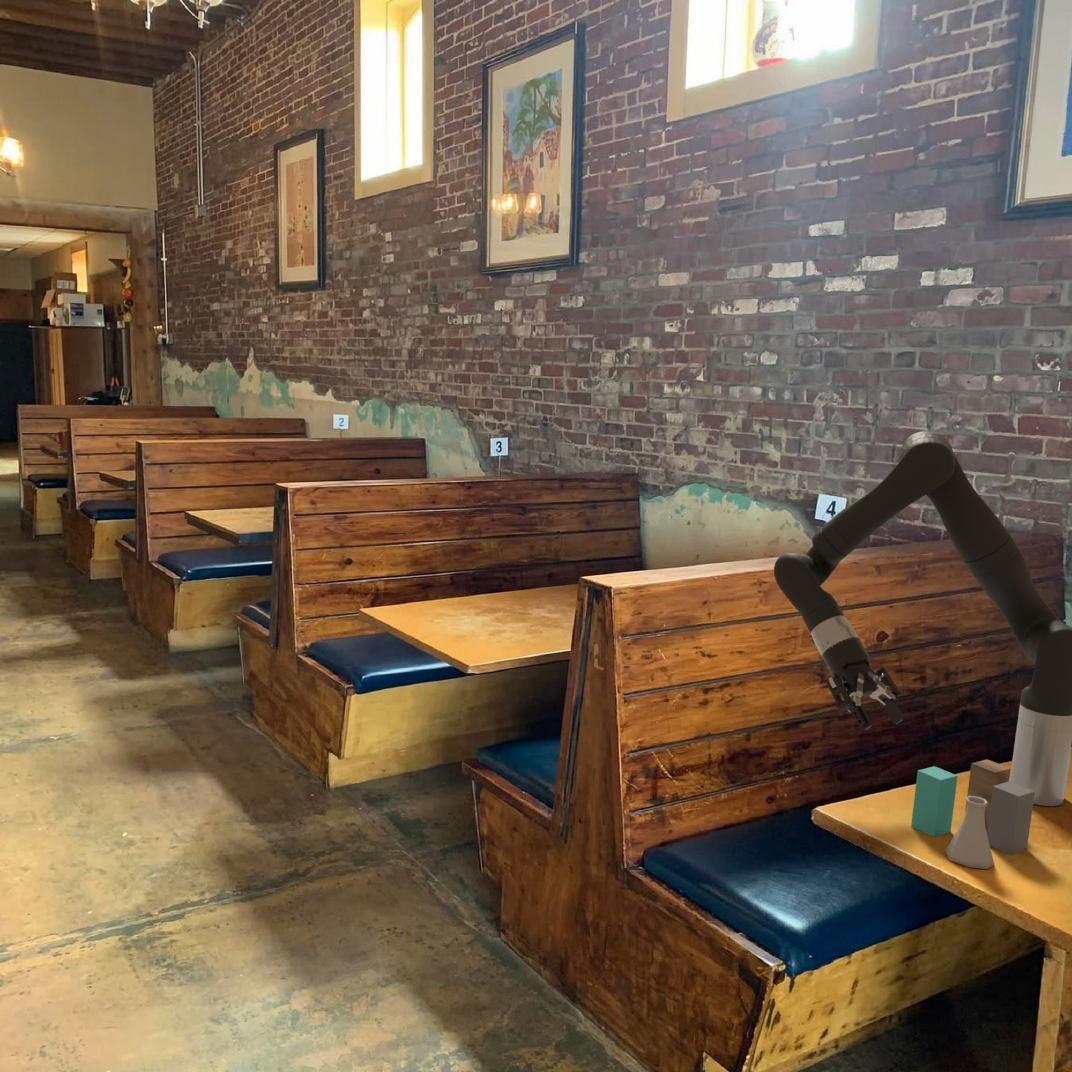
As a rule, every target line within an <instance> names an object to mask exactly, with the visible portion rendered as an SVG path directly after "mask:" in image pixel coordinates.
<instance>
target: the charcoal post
mask: <svg viewBox="0 0 1072 1072" xmlns="http://www.w3.org/2000/svg"><path fill="white" fill-rule="evenodd" d="M1034 794H1035V791H1032V790H1030V789H1027V788H1024V787H1022V786H1019V785H1017V784H1014V783H1012V782H1010V781H1009V782H1006V783H1002V784H999V785H995V786H993V790H992V798H991V805H990V813H989V820H988V828H987V827H986V828H987V829H986V832H987V837H988V841H989V845H990V847H993V848H994V849H997V850H999V851H1001V852H1003V853H1005V854H1008V855H1010V856H1011V855H1012V856H1013V855H1014V854H1017V853H1020V852H1023V851H1026V850H1028V845H1029V844H1028V843H1029V836H1030V831H1031V822H1032V815H1033V807H1034V804H1033V801H1034Z"/></svg>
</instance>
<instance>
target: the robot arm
mask: <svg viewBox="0 0 1072 1072" xmlns="http://www.w3.org/2000/svg"><path fill="white" fill-rule="evenodd" d="M925 496H927V498H928V499H929V501H931V503H932V504H933V506H934V507H935V509H936V510H937V513H938V514H939V516H940V518H941V520H942V523H943V525H944V528H945V530H946V532H947V534H948V536H949V539H950V541H951V542H952V544H953V546H954V548H955V550H956V552H957V554H958V556H959V557H960V559H961V560H962V561H963V563H964V565H965V566H966V568H967V569H968V571H969V572H970V573H971V575H972V576H973V577H974V579H975V580H976V581H977V583H978V584H979V586H980V587H981V589H982V590H983V591H984V592H985V594H986V595H987V597H988V598H989V599H990V600H991V601H992V602H993V603H994V605H996V607H997V608H998V609H999V611H1000V612H1001V614H1002V615H1003V617H1004V618H1005V620H1006V622H1007V624H1008V626H1009V628H1010V629H1011V631H1012V633H1013V635H1014V637H1015V639H1016V641H1017V644H1018V645H1019V647H1020V649H1021V651H1022V652H1023V654H1024V655H1025V657H1026V658H1027V659H1028V660H1029V662H1031V663H1032V664H1033V665H1034V669H1033V674H1032V680H1031V682H1030V685H1029V686H1026V687H1024V688H1022V691H1021V694H1020V701H1019V702H1020V703H1019V708H1018V716H1017V717H1018V718H1017V723H1016V732H1015V737H1014V740H1015V741H1014V745H1013V753H1012V754H1013V755H1012V761H1011V767H1010V768H1011V770H1010V777H1009V782H1012V783H1014V784H1017V785H1019V786H1022V787H1024V788H1027V789H1030V790H1032V791H1035V794H1034V801H1033V805H1036V806H1041V807H1042V806H1044V807H1045V806H1046V807H1056V806H1060V805H1062V804H1063V803H1064V799H1065V798H1066V791H1067V783H1068V777H1069V770H1070V763H1071V758H1072V757H1071V756H1072V626H1070V625H1069V624H1066V623H1064V622H1063V621H1061V619H1059V617H1058V616H1056V614H1055V613H1054V612H1053V611H1052V609H1051V608H1050V607H1049V606H1048V604H1046V602H1045V601H1044V600H1043V598H1042V597H1041V595H1040V594H1039V592H1038V590H1037V588H1036V586H1035V584H1034V581H1033V578H1032V573H1031V570H1030V567H1029V564H1028V562H1027V560H1026V558H1025V555H1024V553H1023V552H1022V550H1021V548H1020V547H1019V545H1018V544H1017V542H1016V541H1015V539H1014V538H1013V536H1012V535H1011V534H1010V532H1009V531H1008V529H1006V527H1005V525H1004V524H1003V523H1002V522H1001V520H1000V519H999V518H998V517H997V515H996V513H994V511H993V510H992V508H991V507H990V506H989V505H988V504H987V502H986V501H985V500H984V499H983V498H982V497H981V496H980V494H978V491H976V490H975V488H974V487H973V486H972V484H971V482H970V481H969V479H968V477H967V476H966V474H965V472H964V470H963V468H962V466H961V463H960V462H959V460H958V459H957V457H956V454H955V452H954V449H953V447H952V446H951V443H950V442H949V441H948V439H946V438H945V437H944V436H942V435H940V434H939V433H936V432H934V431H933V432H931V431H925V430H924V431H918V432H915V433H912V434H911V435H910V436H908V438H906V440H905V441H904V442H903V444H902V446H901V447H900V451H899V456H898V463H897V464H896V465H895V466H894V468H893V469H892V470H891V471H890V473H888V475H887V476H886V477H885V478H884V479H883V480H882V481H881V482H880V483H879V484H878V485H876V486H875V487H874V488H873V489H872V490H870V491H869V492H868V493H866V494H865V495H863V496H861V497H860V498H858V499H857V500H856V501H853V502H852V503H850V504H849V505H847V506H846V507H845V508H843V509H842V510H841V511H839V512H837V514H835V516H833V517H832V518H831V519H830V520H829V521H827V523H826V524H824V525H823V526H822V527H821V528H820V529H818V530H817V531H816V533H815V534H814V535H813V536H812V539H811V542H812V547H810V548H809V550H808V551H807V552H806V553H805V554H800V553H797V552H787V553H784V554H781V556H779V557H778V558H777V559H776V561H775V563H774V567H773V575H774V578H775V579H774V580H775V581H776V584H777V586H778V587H779V589H780V590H781V592H782V593H783V594H784V596H785V598H786V599H787V600H788V601H789V603H791V605H792V606H793V607H794V608H795V609H796V610H797V611H798V613H799V615H800V616H801V617H802V618H801V619H802V620H803V622H804V624H805V625H806V628H807V629H808V631H809V633H810V635H811V636H812V640H813V642H814V645H815V647H816V648H817V651H818V652H819V654H820V656H821V657H822V659H823V661H824V663H825V665H826V666H827V668H828V671H829V672H830V674H831V677H829V678H828V680H826V681H825V683H826V685H827V688H828V689H829V691H830V694H831V695H832V697H833V699H834V701H835V703H836V706H837V707H838V709H839V710H841V711H844V710H846V711H848V712H849V713H851V715H852V717H853V718H854V720H855V722H856V724H857V725H858V727H859V728H860V729H861V730H862V731H866V730H868V729H869V728H871V727H872V726H873V722H872V721H871V718H870V717H869V714H868V713H867V711H866V709H865V708H864V706H863V705H862V697H870V698H871V699H873V700H877V701H878V702H879V703H881V704H882V705H883V709H884V710H885V711H886V713H887V715H888V716H889V718H890V721H891V722H892V723H893V724H896V725H898V724H899V723H901V722H902V721H904V719H905V717H904V714H903V712H902V711H901V709H900V707H899V705H898V703H897V701H896V699H897V698H898V697H899V696H900V695H901V691H900V690H899V689H898V687H897V685H896V683H895V682H894V680H893V678H891V676H890V674H889V672H888V671H887V669H886V667H884V666H880V668H877V669H875V670H874V669H872V667H871V666H870V660H871V657H870V655H869V652H867V650H866V648H865V646H864V644H863V643H862V641H861V639H860V637H859V636H858V634H857V632H856V631H855V629H854V627H853V625H852V624H851V622H850V621H849V620H848V619H847V617H846V616H845V613H843V611H842V609H841V607H840V606H839V604H838V602H837V600H836V599H835V598H834V597H833V595H832V594H830V593H829V592H828V591H826V590H824V589H823V588H822V587H821V586H822V585H823V584H824V583H825V582H826V581H827V580H828V578H829V577H830V576H831V575H832V573H833V572H834V571H835V570H836V568H837V566H839V564H840V563H841V561H842V560H843V559H846V557H847V556H848V555H850V554H851V553H852V552H853V551H855V550H856V549H857V548H858V547H859V546H860V545H862V544H863V543H864V542H865V541H866V540H867V539H868V538H870V537H871V536H872V535H873V534H874V533H875V532H876V531H878V530H879V528H881V527H882V526H884V524H886V523H887V522H888V521H890V520H891V519H892V518H893V517H895V516H896V515H897V514H899V513H900V512H902V511H903V510H904V509H906V508H907V507H909V506H911V505H912V504H913V503H914V502H916V501H918V500H920V499H921V498H923V497H925ZM877 687H878V688H877ZM889 688H890V690H889ZM883 695H884V696H883ZM841 696H842V697H841Z"/></svg>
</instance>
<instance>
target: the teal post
mask: <svg viewBox="0 0 1072 1072" xmlns="http://www.w3.org/2000/svg"><path fill="white" fill-rule="evenodd" d="M958 776H959V775H957V774H954V773H952V772H949V771H947V770H944V769H942V768H941V767H937V766H936V765H935V766H930V767H927V768H923V769H919V770H917V773H916V782H915V791H914V799H913V806H912V807H913V809H912V815H911V824H910V827H911V828H914V829H916V830H918V831H920V832H923V833H924V832H925V833H924V834H926V833H927V834H926V835H928V836H930V837H933V838H935V837H939V836H941V835H944V834H948V833H951V831H952V823H953V816H954V807H955V799H956V793H957V783H958Z"/></svg>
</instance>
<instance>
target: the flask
mask: <svg viewBox="0 0 1072 1072" xmlns="http://www.w3.org/2000/svg"><path fill="white" fill-rule="evenodd" d="M965 801H966V802H967V808H966V807H965V810H966V812H964V816H963V819H962V821H961V823H960V824H959V827H958V828H957V830H956V832H955V834H954V836H953V837H952V839H951V841H950V842H949V844H948V846H947V847H946V849H945V850H944V852H945V855H946V857H947V858H948V860H949V861H951V862H954V863H957V864H959V865H962V866H965V867H966V868H967V867H968V868H975V869H983V870H988V869H990V867H992V866H993V865H994V864H995V862H994V857H993V853H992V848H991V846H990V845H989V841H988V837H987V829H986V828H987V827H985V818H984V813H985V807H986V806H987V804H988V802H987V801H986V799H983V798H980V797H975V796H968V797H967V796H966V797H965ZM966 802H965V803H966Z"/></svg>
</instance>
